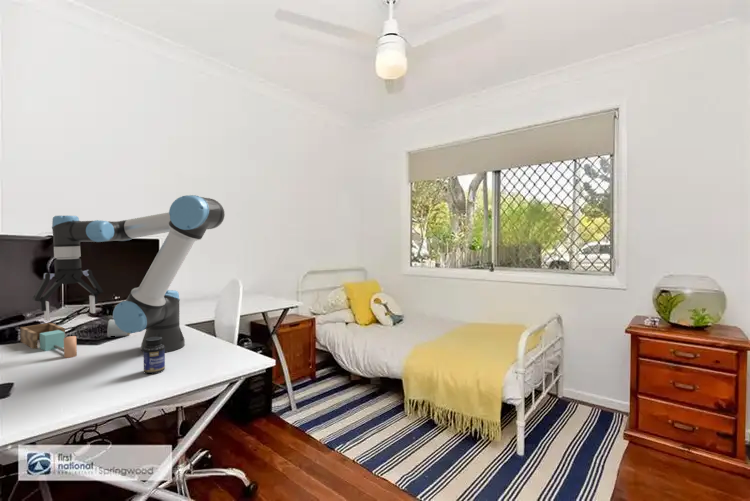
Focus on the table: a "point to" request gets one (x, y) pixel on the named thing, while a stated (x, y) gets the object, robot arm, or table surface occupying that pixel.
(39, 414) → the table surface
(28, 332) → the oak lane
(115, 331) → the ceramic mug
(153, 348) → the pill bottle
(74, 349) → the tethered block
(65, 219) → the robot arm
